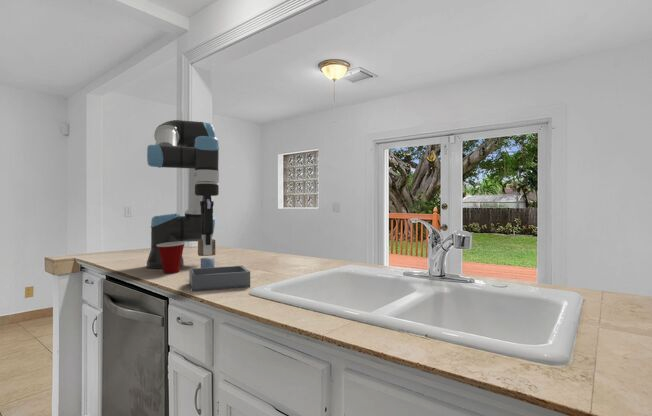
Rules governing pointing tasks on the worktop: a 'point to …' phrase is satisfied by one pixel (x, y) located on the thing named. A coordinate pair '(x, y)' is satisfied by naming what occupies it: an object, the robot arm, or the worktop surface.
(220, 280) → the tote
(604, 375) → the worktop surface
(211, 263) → the slate cylinder
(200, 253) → the walnut cube
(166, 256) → the plastic cup
